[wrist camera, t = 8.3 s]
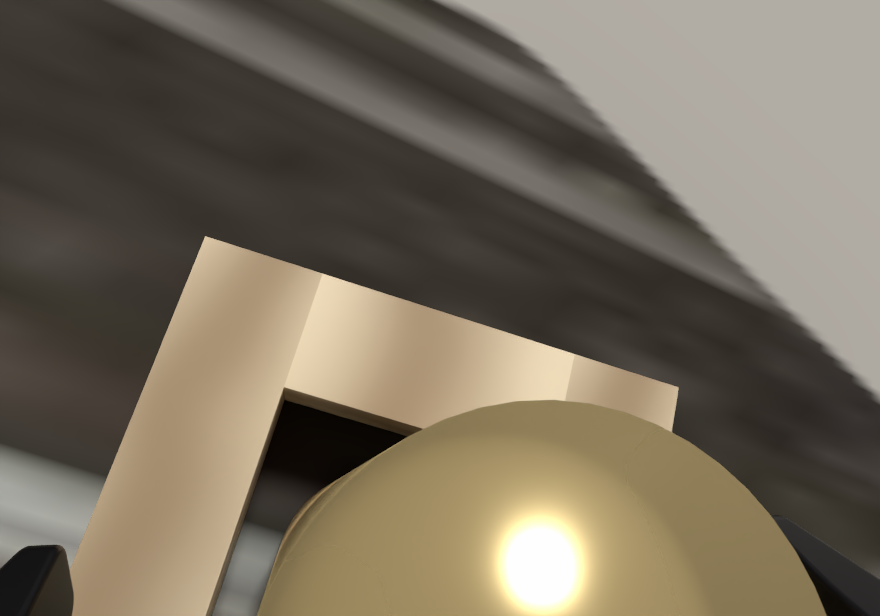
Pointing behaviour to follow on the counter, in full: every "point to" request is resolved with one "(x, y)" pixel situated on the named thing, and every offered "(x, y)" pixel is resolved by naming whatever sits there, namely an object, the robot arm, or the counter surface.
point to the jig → (261, 400)
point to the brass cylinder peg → (538, 526)
